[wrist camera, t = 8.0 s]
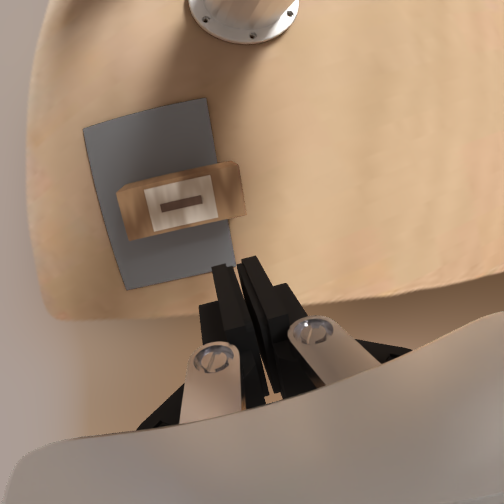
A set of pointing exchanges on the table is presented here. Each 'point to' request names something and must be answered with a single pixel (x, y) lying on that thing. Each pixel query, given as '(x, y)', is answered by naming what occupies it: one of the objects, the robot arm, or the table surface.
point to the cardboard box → (181, 200)
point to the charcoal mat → (148, 166)
